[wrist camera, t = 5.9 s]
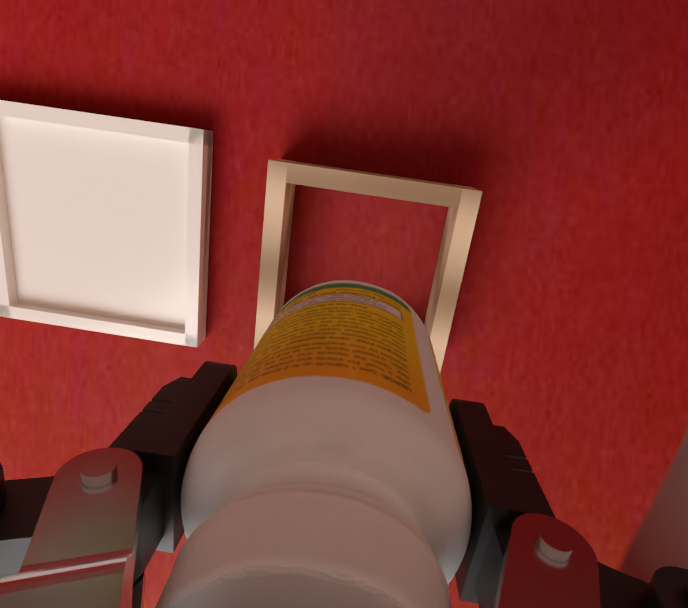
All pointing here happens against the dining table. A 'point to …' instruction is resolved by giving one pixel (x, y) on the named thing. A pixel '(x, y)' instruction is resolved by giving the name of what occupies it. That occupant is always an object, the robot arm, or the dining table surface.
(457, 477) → the supplement bottle
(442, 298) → the oak holder
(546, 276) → the dining table surface
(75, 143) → the ceramic tray
